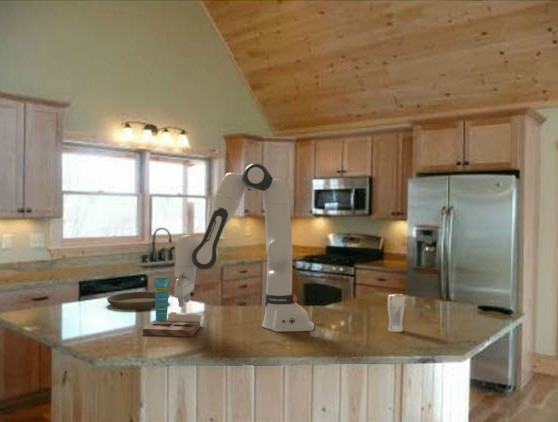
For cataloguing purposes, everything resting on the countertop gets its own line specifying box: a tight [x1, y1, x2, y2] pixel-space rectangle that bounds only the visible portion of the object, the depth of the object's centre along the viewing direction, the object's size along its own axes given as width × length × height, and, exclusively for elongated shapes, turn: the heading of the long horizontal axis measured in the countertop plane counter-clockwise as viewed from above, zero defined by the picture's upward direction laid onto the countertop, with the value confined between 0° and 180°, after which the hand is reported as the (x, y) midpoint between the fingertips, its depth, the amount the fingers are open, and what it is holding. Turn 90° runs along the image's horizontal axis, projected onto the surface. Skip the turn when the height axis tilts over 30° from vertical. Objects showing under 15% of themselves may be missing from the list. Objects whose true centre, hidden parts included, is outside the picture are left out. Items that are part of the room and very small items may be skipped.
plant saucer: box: [106, 291, 170, 311], centre depth 246 cm, size 31×31×5 cm
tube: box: [153, 276, 171, 321], centre depth 214 cm, size 7×5×19 cm, turn 123°
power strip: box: [167, 311, 203, 323], centre depth 204 cm, size 14×3×6 cm, turn 87°
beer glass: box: [387, 293, 405, 333], centre depth 202 cm, size 7×7×15 cm
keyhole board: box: [142, 319, 201, 337], centre depth 195 cm, size 20×14×2 cm
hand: (184, 304), depth 204 cm, fingers open, 8 cm apart
